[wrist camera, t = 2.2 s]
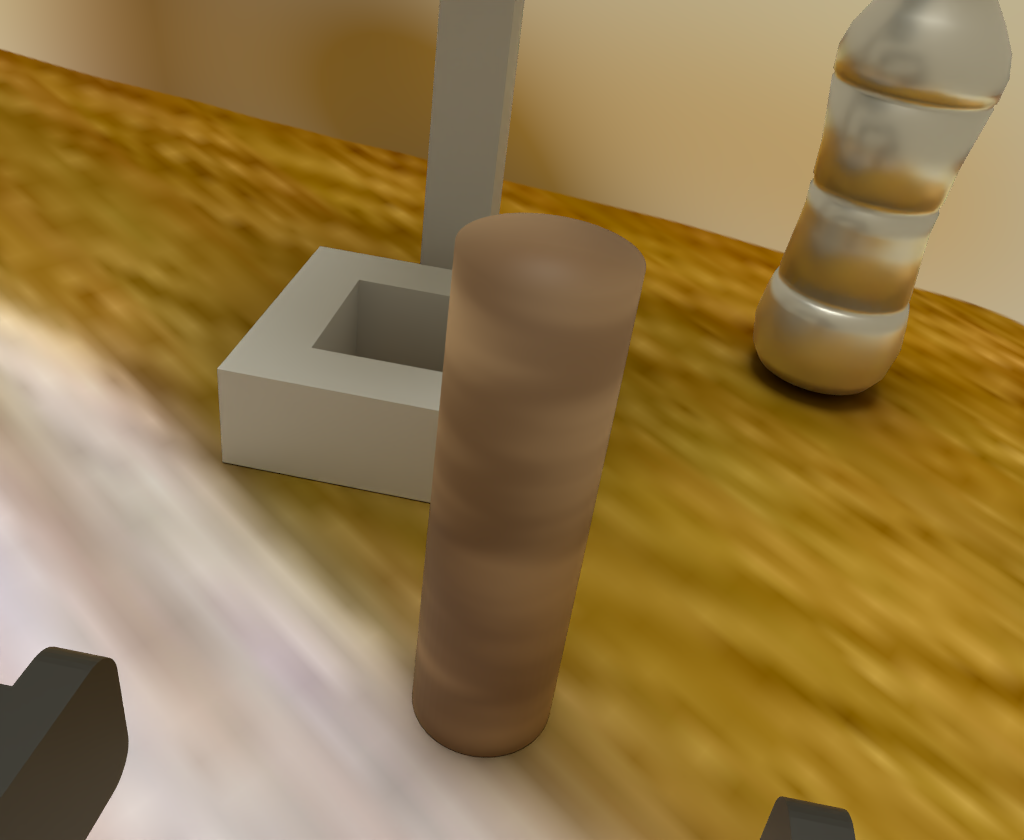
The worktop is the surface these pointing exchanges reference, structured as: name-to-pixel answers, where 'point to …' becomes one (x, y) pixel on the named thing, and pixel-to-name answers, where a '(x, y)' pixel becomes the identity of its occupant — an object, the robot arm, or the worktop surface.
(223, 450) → the socket stand
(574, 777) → the worktop surface
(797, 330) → the plastic bottle
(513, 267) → the peg
